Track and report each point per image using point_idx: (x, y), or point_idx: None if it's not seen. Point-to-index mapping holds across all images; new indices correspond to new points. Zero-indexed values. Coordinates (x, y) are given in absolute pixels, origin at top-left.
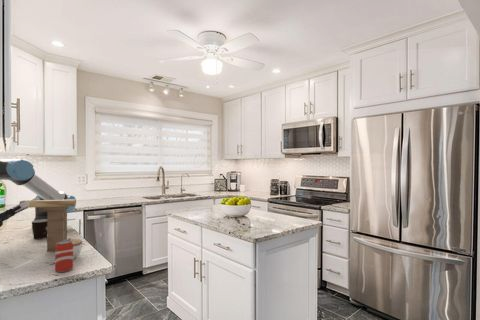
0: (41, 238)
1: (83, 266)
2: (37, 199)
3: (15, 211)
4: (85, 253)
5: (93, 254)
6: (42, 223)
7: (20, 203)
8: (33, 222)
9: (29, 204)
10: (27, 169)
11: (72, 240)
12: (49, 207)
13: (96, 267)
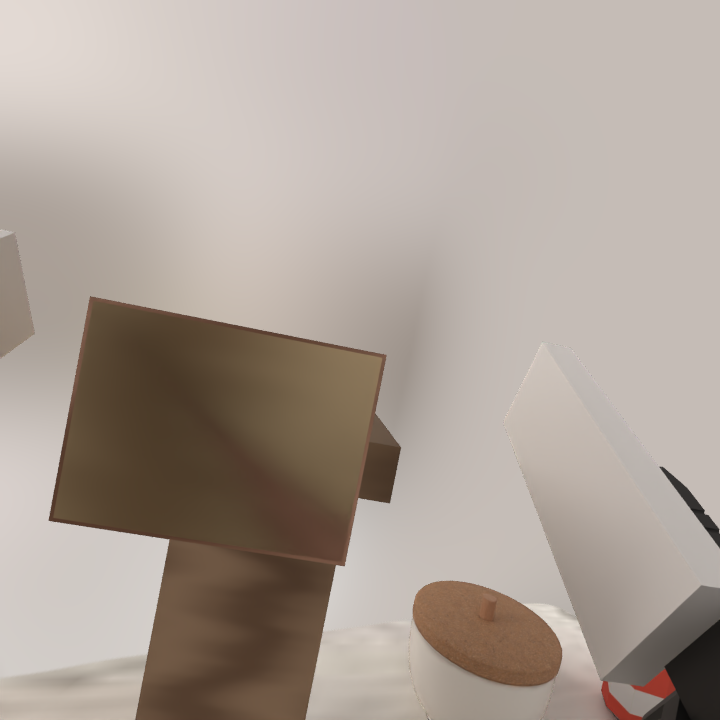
0: None
1: (567, 659)
2: (13, 287)
3: (648, 654)
4: (382, 654)
5: (404, 629)
6: None
7: (371, 410)
8: None
9: (508, 412)
10: None
11: (460, 605)
12: (378, 423)
13: (564, 627)
